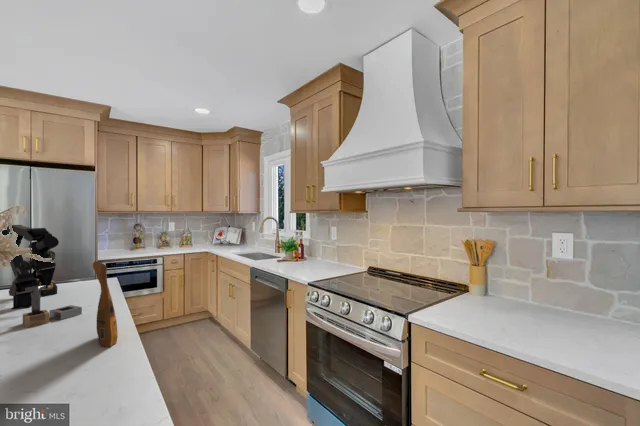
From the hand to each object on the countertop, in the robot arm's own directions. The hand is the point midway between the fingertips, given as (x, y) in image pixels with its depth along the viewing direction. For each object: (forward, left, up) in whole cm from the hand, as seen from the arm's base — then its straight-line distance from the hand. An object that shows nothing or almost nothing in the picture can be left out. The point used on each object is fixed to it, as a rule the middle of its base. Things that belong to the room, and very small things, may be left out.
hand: (47, 287), depth 137 cm
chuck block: (+9, -10, -11) cm, 18 cm away
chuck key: (+1, -15, -11) cm, 19 cm away
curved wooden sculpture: (+31, -47, -12) cm, 57 cm away
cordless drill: (-12, +36, -12) cm, 40 cm away
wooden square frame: (+1, -16, -11) cm, 19 cm away
